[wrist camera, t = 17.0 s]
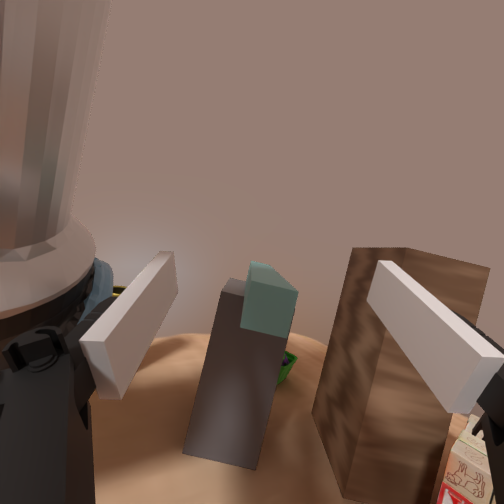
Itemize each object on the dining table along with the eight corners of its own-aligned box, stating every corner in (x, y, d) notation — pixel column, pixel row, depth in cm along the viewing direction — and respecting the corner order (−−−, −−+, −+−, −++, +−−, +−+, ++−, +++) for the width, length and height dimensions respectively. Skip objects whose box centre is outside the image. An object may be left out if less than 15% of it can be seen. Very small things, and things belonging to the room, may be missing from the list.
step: (255, 470, 28) (295, 308, 28) (182, 453, 28) (221, 291, 27) (253, 403, 40) (281, 290, 40) (202, 391, 40) (229, 277, 39)
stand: (425, 516, 27) (490, 268, 27) (343, 497, 27) (406, 247, 27) (366, 425, 41) (407, 261, 41) (311, 412, 41) (352, 247, 41)
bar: (287, 338, 17) (298, 291, 17) (240, 327, 17) (251, 280, 17) (265, 283, 43) (269, 265, 43) (246, 279, 43) (251, 260, 43)
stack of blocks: (459, 473, 35) (479, 396, 35) (521, 516, 31) (545, 426, 30) (417, 572, 22) (449, 446, 22) (516, 677, 17) (560, 516, 17)
